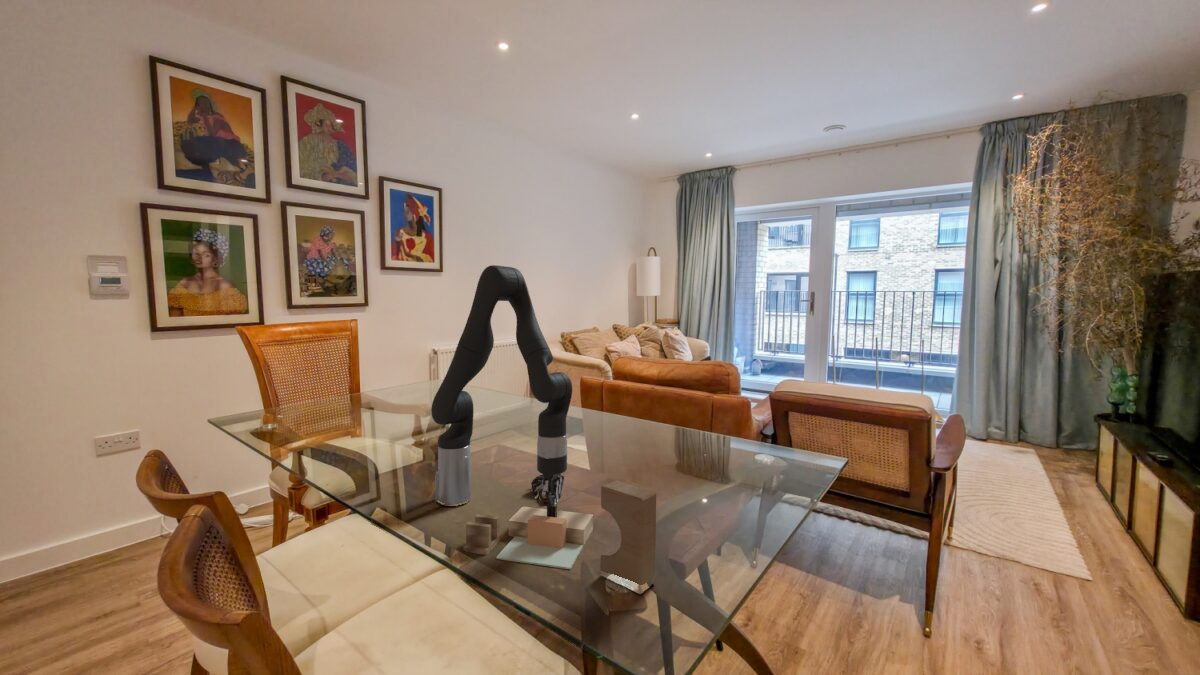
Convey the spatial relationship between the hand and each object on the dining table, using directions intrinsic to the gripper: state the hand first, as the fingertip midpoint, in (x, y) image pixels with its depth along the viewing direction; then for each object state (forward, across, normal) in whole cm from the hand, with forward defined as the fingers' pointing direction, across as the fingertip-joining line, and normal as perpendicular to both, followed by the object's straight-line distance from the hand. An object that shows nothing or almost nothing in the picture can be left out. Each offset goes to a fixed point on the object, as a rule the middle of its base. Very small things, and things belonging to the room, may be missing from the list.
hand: (551, 519), depth 117 cm
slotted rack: (+5, +8, -15) cm, 18 cm away
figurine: (+5, -26, -12) cm, 29 cm away
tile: (+1, +2, 0) cm, 3 cm away
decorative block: (+5, +14, +22) cm, 26 cm away
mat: (+5, +8, 0) cm, 9 cm away
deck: (+5, -3, -1) cm, 6 cm away
